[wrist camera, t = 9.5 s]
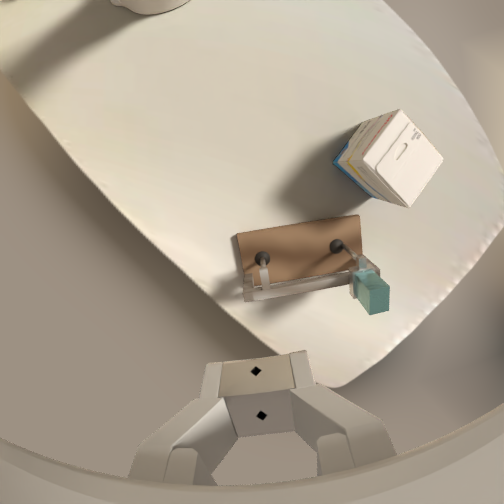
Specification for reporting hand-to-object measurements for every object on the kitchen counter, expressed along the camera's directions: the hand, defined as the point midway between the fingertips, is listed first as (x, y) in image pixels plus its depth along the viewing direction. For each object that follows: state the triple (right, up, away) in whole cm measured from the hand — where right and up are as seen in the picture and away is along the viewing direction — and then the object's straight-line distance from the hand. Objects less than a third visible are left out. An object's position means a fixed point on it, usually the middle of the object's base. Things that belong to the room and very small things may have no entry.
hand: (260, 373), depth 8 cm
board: (+7, +4, +34) cm, 35 cm away
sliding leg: (+13, +3, +33) cm, 36 cm away
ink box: (+17, +17, +31) cm, 39 cm away
